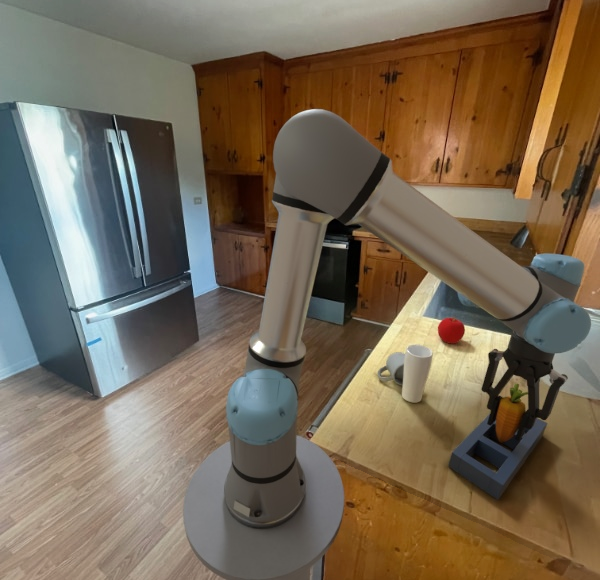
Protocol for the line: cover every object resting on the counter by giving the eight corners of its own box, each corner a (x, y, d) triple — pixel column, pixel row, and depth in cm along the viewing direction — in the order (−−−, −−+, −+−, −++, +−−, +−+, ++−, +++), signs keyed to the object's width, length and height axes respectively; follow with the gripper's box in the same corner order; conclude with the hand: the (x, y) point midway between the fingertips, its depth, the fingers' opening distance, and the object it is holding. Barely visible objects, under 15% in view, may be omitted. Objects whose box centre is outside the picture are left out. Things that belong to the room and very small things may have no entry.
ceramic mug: (405, 369, 104) (408, 348, 101) (417, 385, 96) (420, 362, 93) (373, 371, 103) (375, 350, 100) (382, 387, 95) (385, 365, 92)
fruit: (467, 345, 119) (473, 320, 115) (446, 348, 117) (451, 322, 113) (450, 333, 127) (455, 309, 123) (430, 336, 125) (435, 312, 121)
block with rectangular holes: (448, 466, 70) (451, 452, 69) (498, 413, 86) (501, 401, 84) (497, 500, 63) (503, 485, 62) (542, 436, 79) (547, 423, 77)
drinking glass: (409, 387, 96) (417, 341, 90) (429, 399, 90) (438, 352, 85) (393, 395, 92) (400, 348, 86) (413, 408, 87) (422, 360, 81)
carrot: (494, 430, 77) (510, 376, 71) (517, 443, 73) (536, 388, 67) (484, 440, 74) (500, 385, 68) (508, 454, 70) (527, 397, 64)
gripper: (599, 347, 59) (559, 445, 68) (493, 315, 72) (471, 401, 81) (589, 361, 54) (547, 465, 63) (478, 324, 67) (456, 414, 76)
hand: (504, 429), depth 72 cm, fingers closed on carrot, 5 cm apart
